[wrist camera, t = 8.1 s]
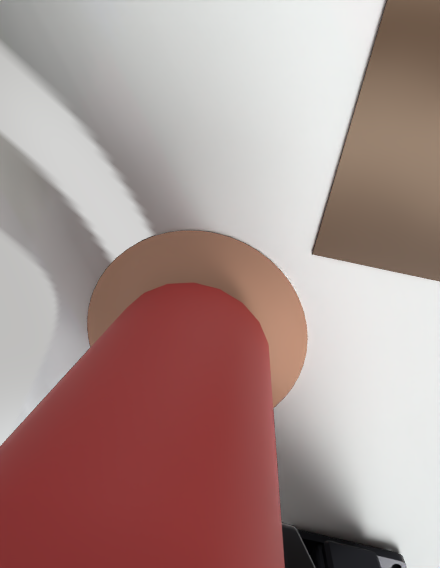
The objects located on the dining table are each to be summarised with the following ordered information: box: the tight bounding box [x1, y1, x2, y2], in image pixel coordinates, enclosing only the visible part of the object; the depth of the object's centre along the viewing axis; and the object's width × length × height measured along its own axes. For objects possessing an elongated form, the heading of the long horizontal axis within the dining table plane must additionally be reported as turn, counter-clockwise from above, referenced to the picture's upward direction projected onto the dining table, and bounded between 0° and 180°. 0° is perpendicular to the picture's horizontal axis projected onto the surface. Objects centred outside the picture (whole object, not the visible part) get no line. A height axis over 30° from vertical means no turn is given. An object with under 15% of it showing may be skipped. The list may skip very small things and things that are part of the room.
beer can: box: [0, 282, 285, 568], centre depth 9 cm, size 7×7×12 cm
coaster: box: [87, 231, 307, 408], centre depth 16 cm, size 10×10×1 cm
